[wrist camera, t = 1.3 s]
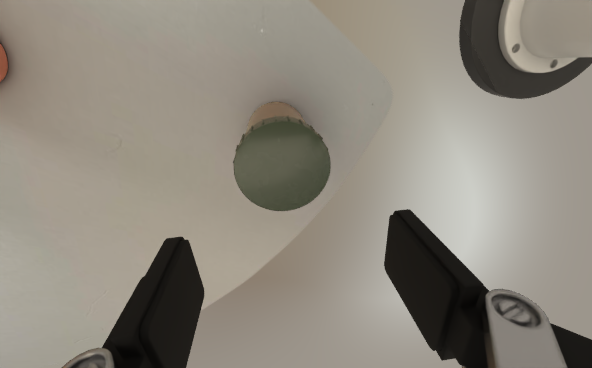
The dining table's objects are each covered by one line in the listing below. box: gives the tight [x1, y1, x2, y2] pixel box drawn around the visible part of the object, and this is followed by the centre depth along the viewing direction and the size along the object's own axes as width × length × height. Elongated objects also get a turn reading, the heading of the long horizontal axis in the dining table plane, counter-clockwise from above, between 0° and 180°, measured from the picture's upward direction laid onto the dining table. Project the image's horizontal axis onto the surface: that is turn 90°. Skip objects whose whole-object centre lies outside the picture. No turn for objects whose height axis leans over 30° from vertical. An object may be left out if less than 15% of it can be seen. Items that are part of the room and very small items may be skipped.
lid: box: [233, 116, 330, 211], centre depth 19 cm, size 7×7×2 cm
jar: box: [246, 102, 306, 132], centre depth 23 cm, size 6×6×11 cm
